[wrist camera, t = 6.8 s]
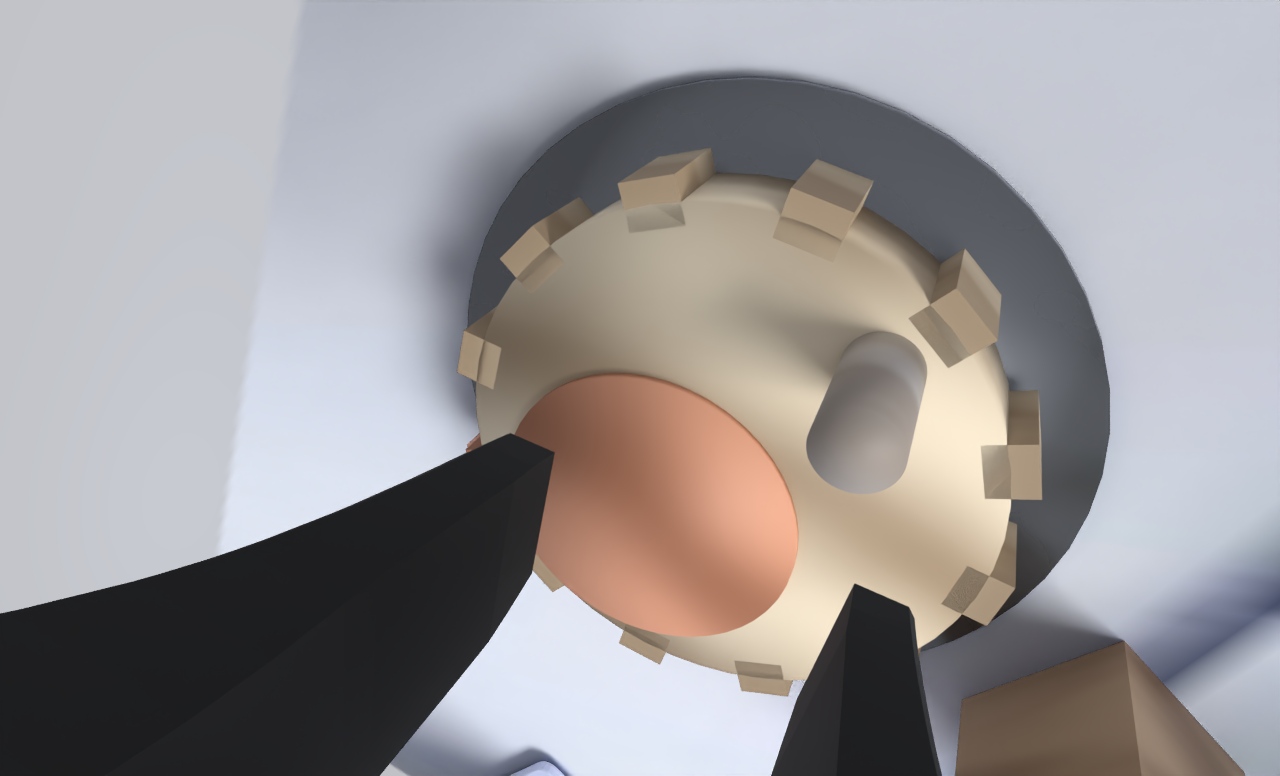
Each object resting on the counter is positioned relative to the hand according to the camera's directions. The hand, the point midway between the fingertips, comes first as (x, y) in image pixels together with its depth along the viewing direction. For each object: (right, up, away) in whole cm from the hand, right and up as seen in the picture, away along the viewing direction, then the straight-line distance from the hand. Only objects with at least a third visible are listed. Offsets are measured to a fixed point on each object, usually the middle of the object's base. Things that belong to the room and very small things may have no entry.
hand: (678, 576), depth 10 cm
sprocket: (+2, +2, +11) cm, 11 cm away
